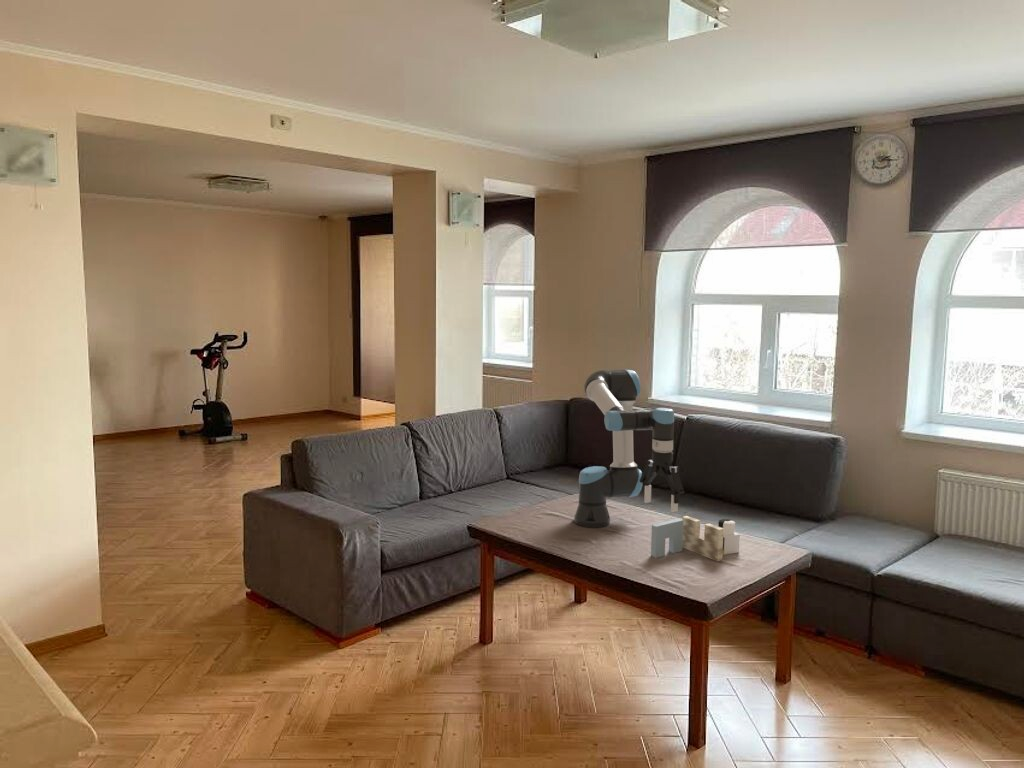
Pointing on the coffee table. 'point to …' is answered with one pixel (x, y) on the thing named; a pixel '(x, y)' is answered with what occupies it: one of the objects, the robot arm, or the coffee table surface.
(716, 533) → the standing plate
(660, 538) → the cross plate
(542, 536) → the coffee table surface
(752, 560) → the coffee table surface
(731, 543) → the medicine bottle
